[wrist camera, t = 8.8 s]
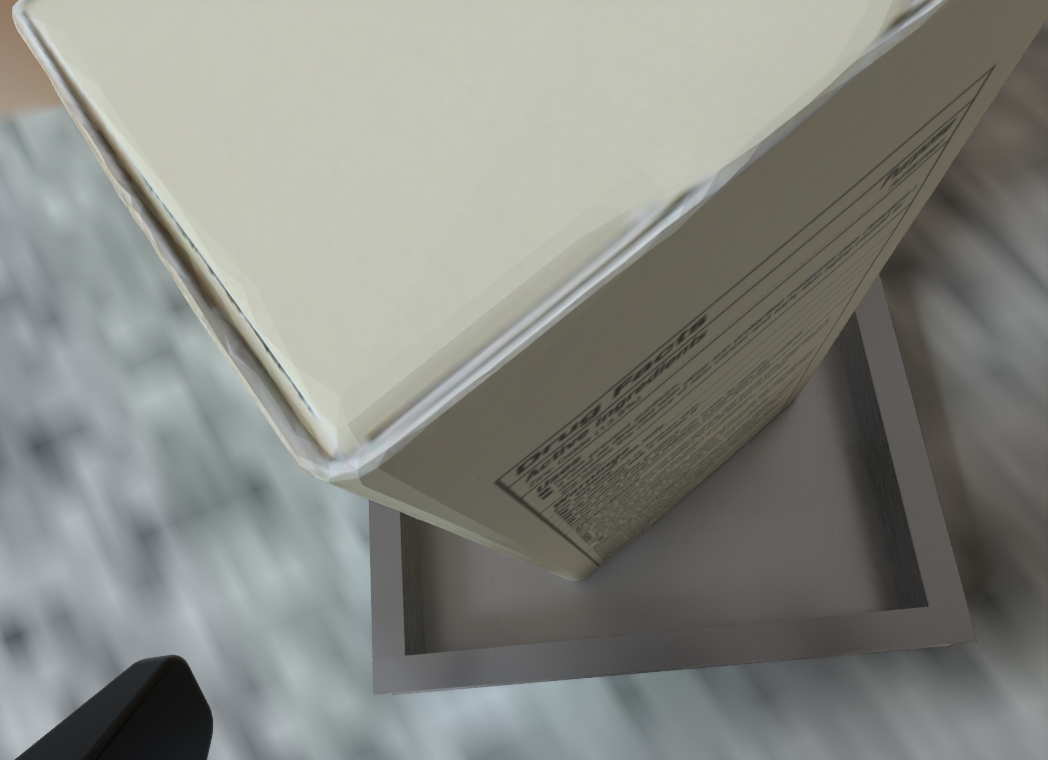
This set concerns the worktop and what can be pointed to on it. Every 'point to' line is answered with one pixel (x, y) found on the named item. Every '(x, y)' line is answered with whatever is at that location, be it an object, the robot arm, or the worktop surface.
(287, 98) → the skincare box
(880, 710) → the worktop surface
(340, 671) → the worktop surface
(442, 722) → the worktop surface
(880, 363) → the square gray open tray
